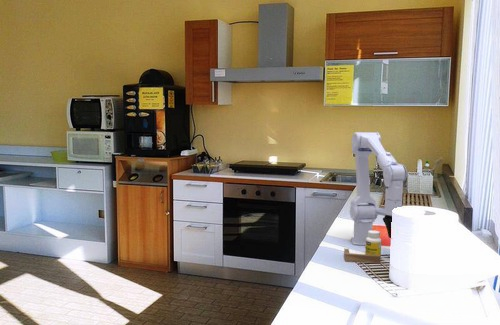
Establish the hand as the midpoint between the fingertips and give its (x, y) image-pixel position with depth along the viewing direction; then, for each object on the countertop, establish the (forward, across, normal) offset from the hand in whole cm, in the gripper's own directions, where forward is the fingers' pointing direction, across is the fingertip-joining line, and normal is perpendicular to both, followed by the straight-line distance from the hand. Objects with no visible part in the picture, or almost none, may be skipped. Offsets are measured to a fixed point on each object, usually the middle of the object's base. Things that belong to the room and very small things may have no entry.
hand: (391, 237), depth 170 cm
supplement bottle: (+8, +5, +3) cm, 11 cm away
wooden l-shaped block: (+8, +7, +7) cm, 13 cm away
